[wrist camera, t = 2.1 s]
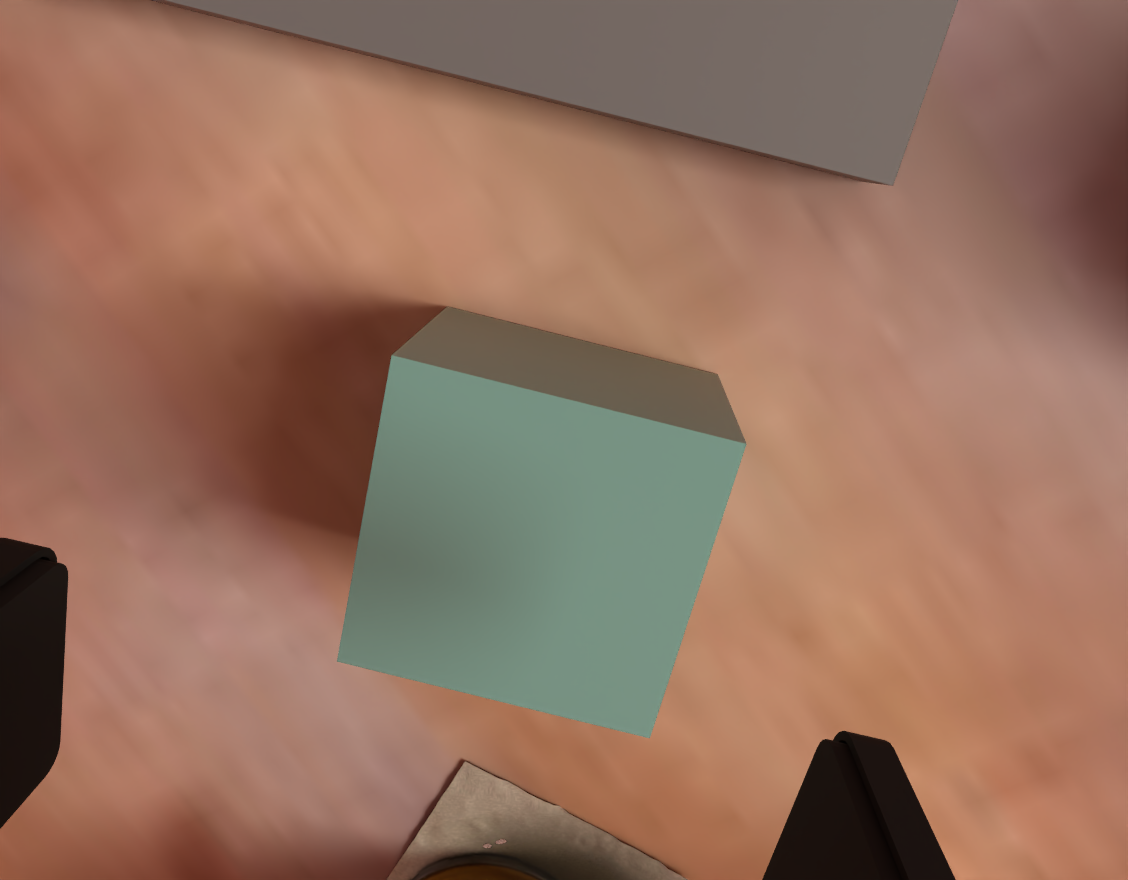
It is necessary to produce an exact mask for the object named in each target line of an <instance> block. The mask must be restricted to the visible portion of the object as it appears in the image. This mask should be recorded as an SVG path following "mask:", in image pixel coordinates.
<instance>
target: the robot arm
mask: <svg viewBox="0 0 1128 880" xmlns="http://www.w3.org/2000/svg"><path fill="white" fill-rule="evenodd" d="M67 590H68V570H67V568H66V566H65V565H63V564H61V563H57V557H56V555H55V553H54V551H53V550H51V549H50V548H47V547H42V546H38V545H34V544H29V543H25V542H21V541H16V540H12V539H8V538H0V828H1V827H2V826H3V825H4V824H5V823H6V822H7V820H8V819H9V818H10V817H11V816H12V815H13V813H14V812H15V811H16V810H17V809H18V808H19V807H20V805H21V804H22V803H23V802H24V801H25V800H26V798H27V797H28V796H29V795H30V794H31V793H32V792H33V790H34V789H35V788H36V787H37V786H38V785H39V783H40V782H41V781H42V780H43V779H44V778H45V776H46V775H47V774H48V772H49V771H50V769H51V767H52V766H53V764H54V762H55V759H56V757H57V754H58V751H59V747H60V736H61V715H62V694H63V674H64V653H65V632H66V611H67ZM762 880H955V877H954V875H953V873H952V871H951V869H950V867H949V865H948V863H947V860H946V858H945V856H944V854H943V852H942V850H941V848H940V846H939V843H938V841H937V839H936V837H935V835H934V833H933V831H932V829H931V826H930V824H929V822H928V820H927V818H926V816H925V814H924V812H923V809H922V807H921V805H920V803H919V801H918V799H917V797H916V795H915V792H914V790H913V788H912V786H911V784H910V782H909V780H908V778H907V775H906V773H905V771H904V769H903V767H902V765H901V763H900V761H899V758H898V756H897V754H896V752H895V750H894V748H893V747H892V745H891V744H890V743H889V742H887V741H885V740H881V739H877V738H873V737H868V736H864V735H860V734H855V733H851V732H847V731H842V732H839V733H838V734H837V735H836V736H835V738H834V739H833V741H832V740H828V739H825V740H822V741H821V742H820V744H819V745H818V747H817V749H816V752H815V754H814V757H813V759H812V761H811V764H810V766H809V769H808V771H807V773H806V776H805V778H804V781H803V783H802V785H801V788H800V790H799V793H798V795H797V798H796V800H795V802H794V805H793V807H792V810H791V812H790V814H789V817H788V819H787V822H786V824H785V826H784V829H783V831H782V834H781V836H780V838H779V841H778V843H777V846H776V848H775V850H774V853H773V855H772V858H771V860H770V863H769V865H768V867H767V870H766V872H765V875H764V877H763V879H762Z"/></svg>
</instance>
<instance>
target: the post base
mask: <svg viewBox="0 0 1128 880" xmlns="http://www.w3.org/2000/svg"><path fill="white" fill-rule="evenodd" d="M152 1H156V2H160V3H164V4H168V5H172V6H176V7H180V8H184V9H187V10H191V11H195V12H199V13H203V14H207V15H211V16H215V17H219V18H223V19H227V20H231V21H235V22H239V23H242V24H246V25H250V26H254V27H258V28H262V29H266V30H270V31H274V32H278V33H282V34H286V35H290V36H294V37H297V38H301V39H305V40H309V41H313V42H317V43H321V44H325V45H329V46H333V47H337V48H341V49H345V50H348V51H352V52H356V53H360V54H364V55H368V56H372V57H376V58H380V59H384V60H388V61H392V62H396V63H400V64H403V65H407V66H411V67H415V68H419V69H423V70H427V71H431V72H435V73H439V74H443V75H447V76H451V77H455V78H458V79H462V80H466V81H470V82H474V83H478V84H482V85H486V86H490V87H494V88H498V89H502V90H506V91H510V92H513V93H517V94H521V95H525V96H529V97H533V98H537V99H541V100H545V101H549V102H553V103H557V104H561V105H565V106H568V107H572V108H576V109H580V110H584V111H588V112H592V113H596V114H600V115H604V116H608V117H612V118H616V119H620V120H623V121H627V122H631V123H635V124H639V125H643V126H647V127H651V128H655V129H659V130H663V131H667V132H671V133H675V134H678V135H682V136H686V137H690V138H694V139H698V140H702V141H706V142H710V143H714V144H718V145H722V146H726V147H730V148H733V149H737V150H741V151H745V152H749V153H753V154H757V155H761V156H765V157H769V158H773V159H777V160H781V161H784V162H788V163H792V164H796V165H800V166H804V167H808V168H812V169H816V170H820V171H824V172H828V173H832V174H836V175H839V176H843V177H847V178H851V179H855V180H859V181H863V182H868V183H876V184H884V185H891V186H893V184H894V181H895V178H896V176H897V173H898V170H899V167H900V164H901V161H902V159H903V156H904V153H905V150H906V147H907V144H908V141H909V139H910V136H911V133H912V130H913V127H914V124H915V122H916V119H917V116H918V113H919V110H920V107H921V104H922V102H923V99H924V96H925V93H926V90H927V87H928V85H929V82H930V79H931V76H932V73H933V70H934V67H935V65H936V62H937V59H938V56H939V53H940V50H941V48H942V45H943V42H944V39H945V36H946V33H947V30H948V28H949V25H950V22H951V19H952V16H953V13H954V11H955V8H956V5H957V2H958V0H152Z"/></svg>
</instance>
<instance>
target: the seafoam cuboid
mask: <svg viewBox="0 0 1128 880" xmlns="http://www.w3.org/2000/svg"><path fill="white" fill-rule="evenodd" d="M745 447H746V442H745V439H744V437H743V434H742V432H741V430H740V427H739V425H738V422H737V420H736V417H735V415H734V413H733V410H732V408H731V405H730V403H729V401H728V398H727V396H726V393H725V391H724V388H723V386H722V384H721V381H720V379H719V376H718V374H714V373H710V372H706V371H702V370H698V369H694V368H690V367H686V366H682V365H678V364H674V363H670V362H666V361H662V360H659V359H655V358H651V357H647V356H643V355H639V354H635V353H631V352H627V351H623V350H619V349H615V348H611V347H607V346H603V345H599V344H595V343H591V342H587V341H583V340H579V339H575V338H571V337H567V336H563V335H559V334H555V333H551V332H547V331H543V330H539V329H535V328H531V327H527V326H523V325H519V324H515V323H511V322H507V321H503V320H499V319H495V318H491V317H487V316H483V315H479V314H475V313H471V312H467V311H463V310H459V309H456V308H452V307H448V306H447V307H446V308H445V309H444V310H443V311H441V312H440V313H439V314H438V315H437V316H436V317H435V318H433V319H432V320H431V321H430V322H429V323H428V324H427V325H425V326H424V327H423V328H422V329H421V330H420V331H419V332H417V333H416V334H415V335H414V336H413V337H412V338H411V339H409V340H408V341H407V342H406V343H405V344H404V345H403V346H401V347H400V348H399V349H398V350H397V351H396V352H395V353H393V354H392V355H391V361H390V367H389V372H388V378H387V383H386V389H385V395H384V400H383V406H382V412H381V417H380V423H379V428H378V434H377V440H376V445H375V451H374V456H373V462H372V468H371V473H370V479H369V485H368V490H367V496H366V501H365V507H364V513H363V518H362V524H361V529H360V535H359V541H358V546H357V552H356V558H355V563H354V569H353V574H352V580H351V586H350V591H349V597H348V602H347V608H346V614H345V619H344V625H343V630H342V636H341V642H340V647H339V653H338V659H337V662H341V663H345V664H349V665H354V666H358V667H362V668H366V669H370V670H374V671H378V672H382V673H386V674H390V675H394V676H398V677H402V678H406V679H411V680H415V681H419V682H423V683H427V684H431V685H435V686H439V687H443V688H447V689H451V690H455V691H459V692H463V693H468V694H472V695H476V696H480V697H484V698H488V699H492V700H496V701H500V702H504V703H508V704H512V705H516V706H520V707H525V708H529V709H533V710H537V711H541V712H545V713H549V714H553V715H557V716H561V717H565V718H569V719H573V720H577V721H582V722H586V723H590V724H594V725H598V726H602V727H606V728H610V729H614V730H618V731H622V732H626V733H630V734H634V735H639V736H643V737H647V738H650V736H651V733H652V730H653V727H654V724H655V721H656V718H657V715H658V712H659V709H660V705H661V702H662V699H663V696H664V693H665V690H666V687H667V684H668V681H669V678H670V675H671V672H672V669H673V666H674V663H675V660H676V657H677V654H678V651H679V648H680V645H681V642H682V639H683V635H684V632H685V629H686V626H687V623H688V620H689V617H690V614H691V611H692V608H693V605H694V602H695V599H696V596H697V593H698V590H699V587H700V584H701V581H702V578H703V575H704V572H705V569H706V566H707V562H708V559H709V556H710V553H711V550H712V547H713V544H714V541H715V538H716V535H717V532H718V529H719V526H720V523H721V520H722V517H723V514H724V511H725V508H726V505H727V502H728V499H729V496H730V492H731V489H732V486H733V483H734V480H735V477H736V474H737V471H738V468H739V465H740V462H741V459H742V456H743V453H744V450H745Z"/></svg>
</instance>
